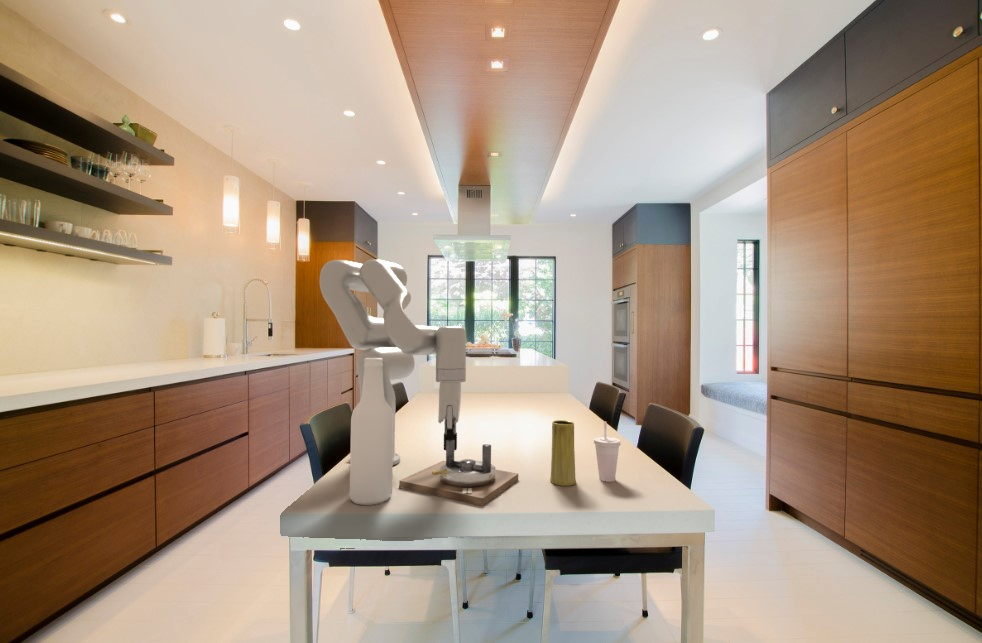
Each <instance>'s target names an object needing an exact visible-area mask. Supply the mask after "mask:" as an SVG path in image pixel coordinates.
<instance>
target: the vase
mask: <svg viewBox="0 0 982 643" xmlns="http://www.w3.org/2000/svg"><path fill="white" fill-rule="evenodd" d="M551 424H552V425H551V427H552V429H551V432H552V433H551V434H552V436H551V460H550V461H551V464H550V465H551V466H550V479H549V480H550V482H551V483H552V484H553V485H556V486H561V487H562V486H563V487H569V486H574V485H575V484H576V483H577V480H576V479H577V478H576V458H575V457H576V455H575V453H576V452H575V423H574V421H572V420H566V419H564V420H560V419H557V420H553V421H552V423H551Z"/></svg>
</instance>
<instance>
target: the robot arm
mask: <svg viewBox="0 0 982 643" xmlns="http://www.w3.org/2000/svg"><path fill="white" fill-rule="evenodd" d="M319 274H320V275H319V289H320V292H321V295H322V297H323V300H324V301H325V302H326V304H327V305H328V307H329V308H330V310H331V312H332V313H333V315H334V316H335V318H336V320H337V322H338V324H339V326H340V329H341V330H342V332H343V334H344V335H345V338H346V341H347V342H348V343H349V345H350V346H351V347H352V348H354V349H356V350H360V351H362V350H363V351H362V352H361V353H360V354H359V356H358V358H357V361H356V370H357V371H356V372H357V377H358V383H359V401H360V400H361V397H362V388H363V378H364V368H365V367H364V364H365V361H364V359H365V358H382V359H383V361H382V364H383V366H382V371H383V388H384V397H385V401H386V402H387V403H388V404H389V406H390V407H391V409H392V412H393V466H395V465H397V464H399V463H400V461H401V455H400V454H398V453H396V452H395V451H396V448H395V447H396V445H395V444H396V439H395V438H396V393H395V390H394V387H393V384H392V382H391V381H395V380H401V379H402V380H403V379H405V378H407V377H409V376H410V375H411V374H413V371H414V369H415V358H414V357H415V356H423V355H424V356H432V355H435V382H436V383H439V387H438V388H439V389H438V417H437V418H438V420H437V422H438V423H439V424H442V422H444V433H443V451H446V440H447V439H454V440H455V443H454V451H457V447H458V432H457V423H459V418H460V412H461V402H462V401H461V399H462V397H461V396H462V395H461V393H462V389H461V388H462V383H465V382H466V381H467V379H466V378H467V371H466V370H467V369H466V368H467V363H466V362H467V345H466V344H467V332H466V329H465V328H464V327H462V326H450V325H448V326H447V325H446V326H440V327H439V326H434V325H419V324H417V325H416V324H414V322H413V321H412V320H411V319H410V318H409V317H408V315H407V314H406V313H405V311H404V310H405V309H406V308H407V307H408V306H409V304H410V302H411V300H412V295H411V293H410V291H409V290H408V289H407V288H406V285H407V282H408V276H407V275H408V274H407V273H406V270H405V269H404V268H403V267H402V266H401V265H400V264H397V263H395V262H390V261H387V260H383V259H373V258H372V259H368V260H366V261H365V262H363V263H359V262H355V261H350V260H345V259H334V260H329V261H327V262H326V263H324V264H323V266H322V268H321V270H320V272H319ZM352 291H354V292H361V293H370V294H371V296H372V297H373V298H374V299H375V301H376V303H378V305H379V306H380V307H381V309H382V310H383V316H382V317H374V316H372V315H370V313H369V312H368V311H367V309H366V307H365V305H364V304H363V302H362V300H361V299H360V298H359V297H358V296H357V295H355V294H354V293H353V292H352Z"/></svg>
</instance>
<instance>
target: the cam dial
mask: <svg viewBox="0 0 982 643" xmlns="http://www.w3.org/2000/svg"><path fill="white" fill-rule="evenodd" d="M454 443H455V440H454V439H447V440H446V450H445V461H446V464H445V465H443V466H442V467H441V468H440V470H439V471H433V472H432V475H438V474H440V480H441V481H442V482H444V483H446V484H449V485H452V486H459V487H475V486H482V485H486V484H489V483H491V482H493V481H494V480H495V470H496V467H495V465H494V464H493V463H492V445H491V444H482V448H481V449H482V450H481V452H482V454H481V456H482V459H481V460H475V459H468V458H467V459H461V460H455V450H454Z"/></svg>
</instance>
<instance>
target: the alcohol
mask: <svg viewBox="0 0 982 643" xmlns="http://www.w3.org/2000/svg"><path fill="white" fill-rule="evenodd" d="M364 361H365V364H364V367H365V368H364V378H363V388H362V397H361V400H360V399H359V402H358V403H357V405H356V406H355V407H354V408H353V411H352V414H351V418H350V451H349V452H350V453H349V456H350V457H349V458H350V459H349V460H350V461H349V499H350V500H351V501H352V503H353V504H355V503H356V505H358V504H359V505H360V506H374V505H373V504H375V505H378V503H379V504H382V503H384V501H385V502H386V501H388V500H389V499H390V497H391V496H392V494H393V468H394V467H393V466H394V465H393V412H392V409H391V407H390V406H389V404H388V403H387V402H386V401H385V397H384V388H383V371H382V366H383V364H382V361H383V359H382V358H365V359H364ZM381 502H382V503H381ZM359 505H358V506H359Z"/></svg>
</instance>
